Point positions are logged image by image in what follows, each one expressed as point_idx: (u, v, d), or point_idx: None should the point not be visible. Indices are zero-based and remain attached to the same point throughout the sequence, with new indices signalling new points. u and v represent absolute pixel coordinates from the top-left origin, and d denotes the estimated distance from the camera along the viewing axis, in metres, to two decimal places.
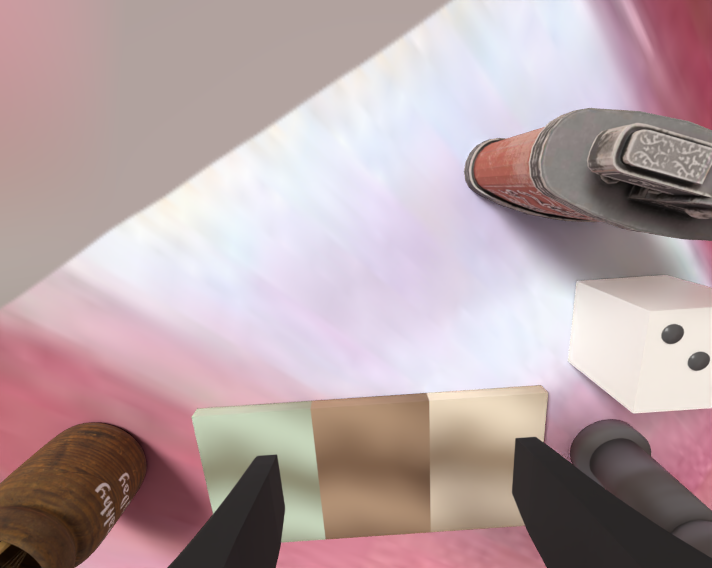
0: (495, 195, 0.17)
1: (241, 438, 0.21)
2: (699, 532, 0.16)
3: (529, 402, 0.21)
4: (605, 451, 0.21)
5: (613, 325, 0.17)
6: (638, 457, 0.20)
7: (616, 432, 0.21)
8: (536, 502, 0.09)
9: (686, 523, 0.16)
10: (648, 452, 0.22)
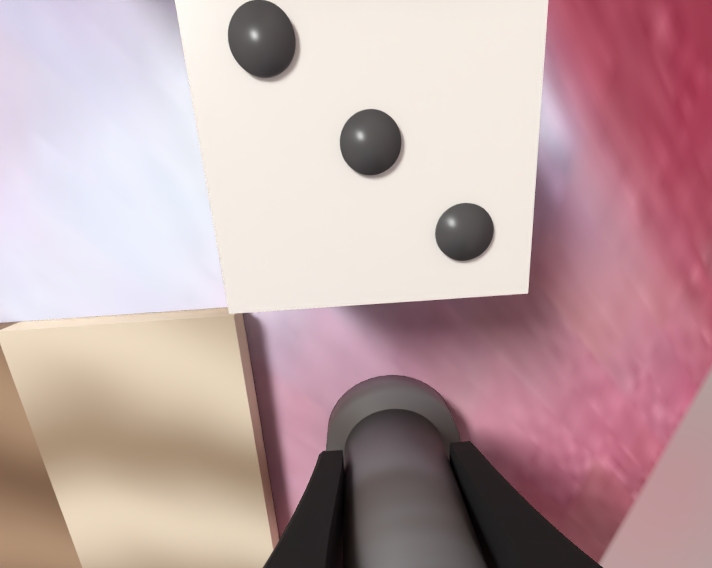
0: None
1: None
2: None
3: (202, 336, 0.10)
4: (358, 433, 0.11)
5: None
6: (395, 443, 0.10)
7: (385, 397, 0.11)
8: None
9: None
10: (454, 436, 0.11)
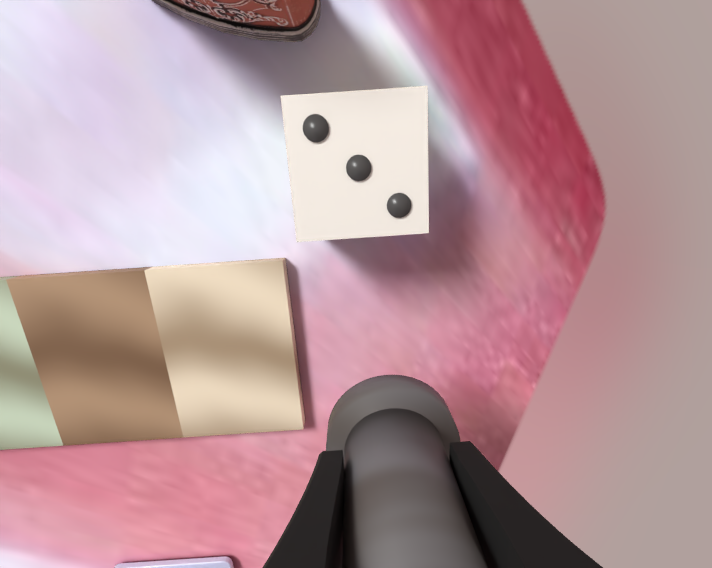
0: None
1: None
2: None
3: (263, 273, 0.18)
4: (358, 433, 0.11)
5: None
6: (395, 442, 0.10)
7: (385, 396, 0.11)
8: None
9: None
10: (454, 436, 0.11)
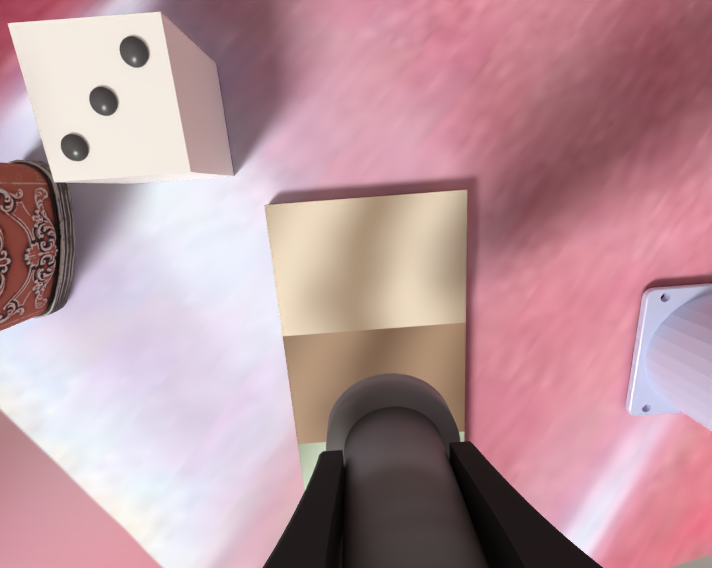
0: (52, 293, 0.18)
1: None
2: None
3: (279, 225, 0.17)
4: (358, 431, 0.11)
5: (125, 180, 0.15)
6: (396, 441, 0.10)
7: (386, 394, 0.11)
8: None
9: None
10: (454, 435, 0.11)
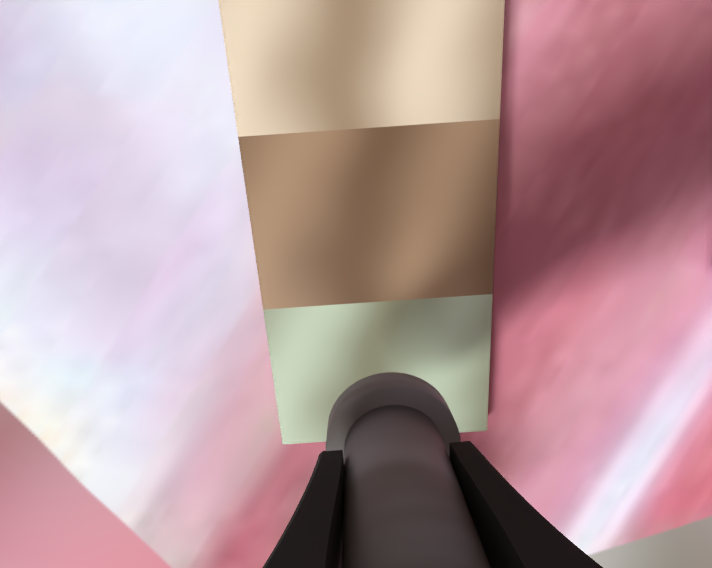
0: None
1: (311, 393, 0.16)
2: None
3: None
4: (358, 429, 0.11)
5: None
6: (396, 437, 0.10)
7: (385, 393, 0.11)
8: None
9: None
10: (454, 434, 0.11)
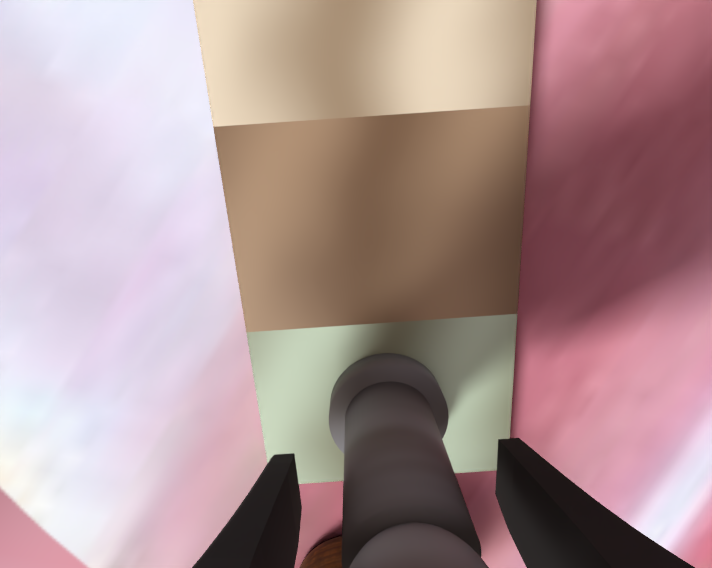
0: None
1: (304, 428, 0.14)
2: (382, 550, 0.07)
3: None
4: (357, 402, 0.12)
5: None
6: (390, 407, 0.11)
7: (382, 370, 0.12)
8: (517, 503, 0.09)
9: (384, 530, 0.08)
10: (443, 407, 0.13)
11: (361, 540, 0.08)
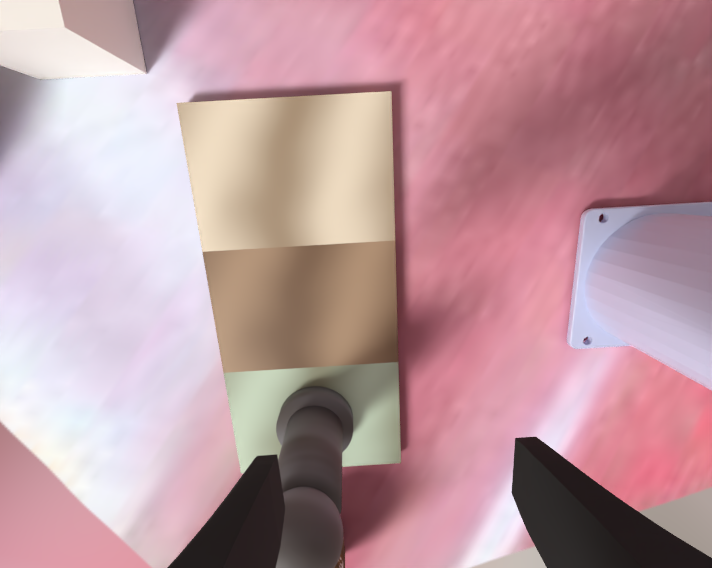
0: None
1: (262, 434, 0.21)
2: None
3: (193, 126, 0.17)
4: (292, 419, 0.19)
5: (10, 54, 0.14)
6: (308, 423, 0.18)
7: (309, 399, 0.19)
8: (536, 502, 0.09)
9: (287, 490, 0.15)
10: (349, 422, 0.20)
11: None
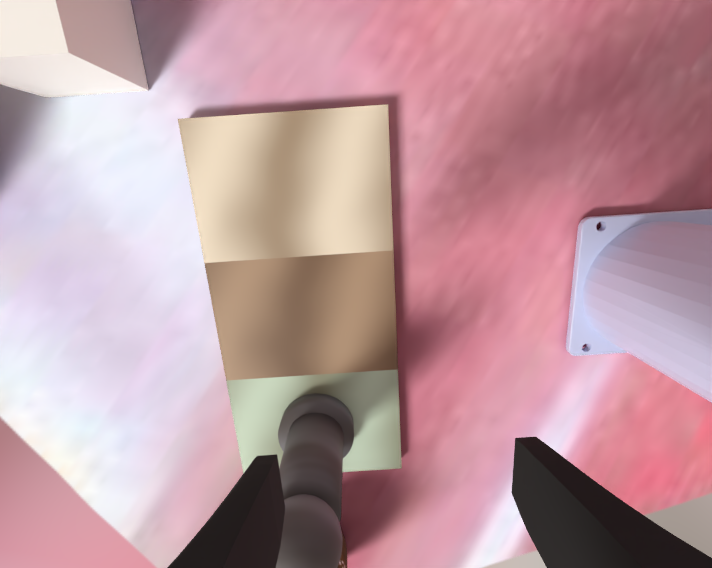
0: None
1: (265, 440, 0.22)
2: None
3: (194, 141, 0.17)
4: (293, 426, 0.20)
5: (17, 76, 0.14)
6: (309, 430, 0.18)
7: (310, 406, 0.20)
8: (536, 502, 0.09)
9: (288, 498, 0.15)
10: (349, 428, 0.20)
11: None
